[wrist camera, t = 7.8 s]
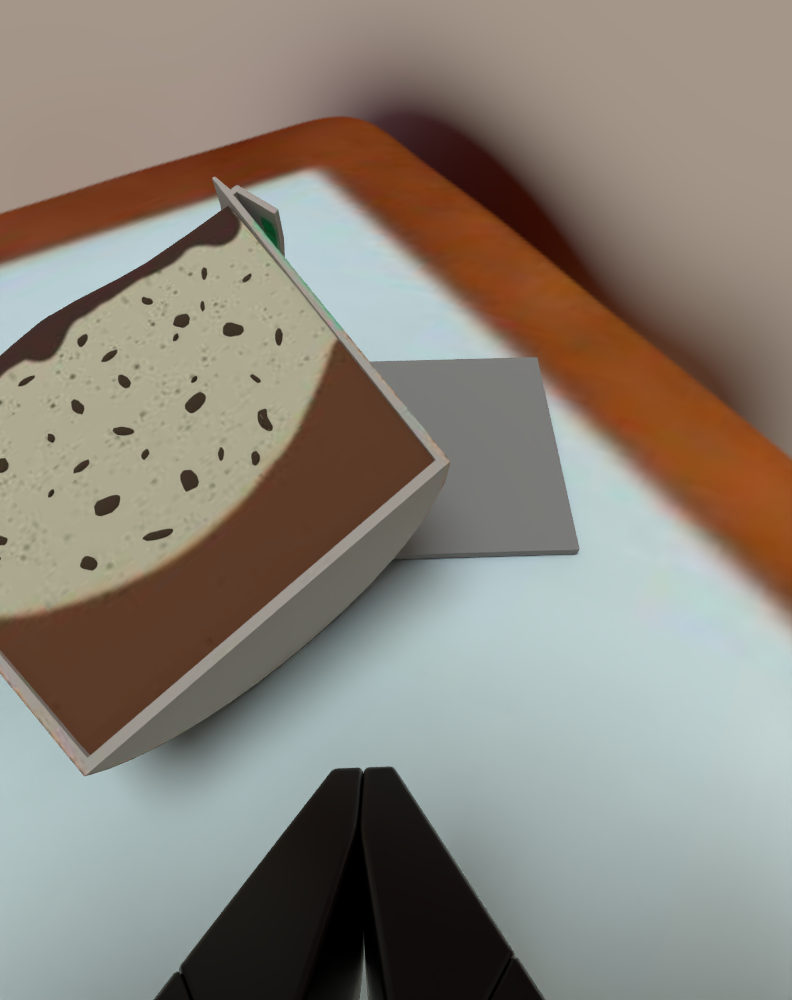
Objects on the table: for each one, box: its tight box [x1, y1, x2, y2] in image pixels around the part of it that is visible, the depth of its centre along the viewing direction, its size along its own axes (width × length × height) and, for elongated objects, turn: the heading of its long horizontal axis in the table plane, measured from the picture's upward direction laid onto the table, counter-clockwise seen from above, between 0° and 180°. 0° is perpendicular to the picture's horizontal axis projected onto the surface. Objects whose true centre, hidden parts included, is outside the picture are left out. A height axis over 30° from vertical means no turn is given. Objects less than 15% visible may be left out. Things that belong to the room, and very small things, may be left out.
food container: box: [0, 177, 450, 776], centre depth 16 cm, size 12×6×10 cm
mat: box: [370, 357, 579, 559], centre depth 20 cm, size 8×12×1 cm, turn 92°
